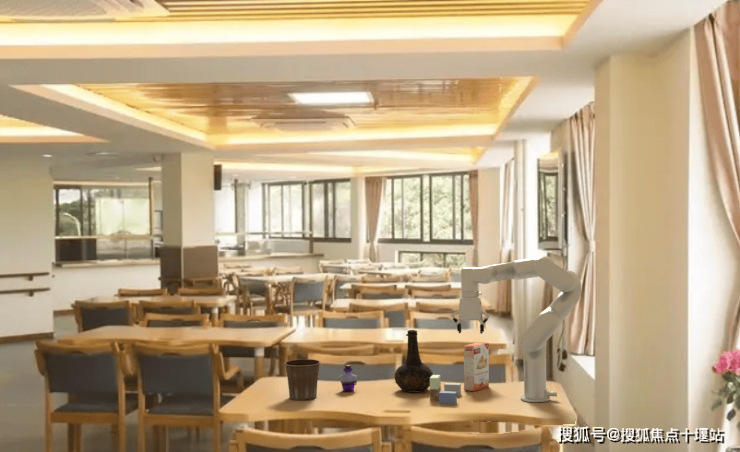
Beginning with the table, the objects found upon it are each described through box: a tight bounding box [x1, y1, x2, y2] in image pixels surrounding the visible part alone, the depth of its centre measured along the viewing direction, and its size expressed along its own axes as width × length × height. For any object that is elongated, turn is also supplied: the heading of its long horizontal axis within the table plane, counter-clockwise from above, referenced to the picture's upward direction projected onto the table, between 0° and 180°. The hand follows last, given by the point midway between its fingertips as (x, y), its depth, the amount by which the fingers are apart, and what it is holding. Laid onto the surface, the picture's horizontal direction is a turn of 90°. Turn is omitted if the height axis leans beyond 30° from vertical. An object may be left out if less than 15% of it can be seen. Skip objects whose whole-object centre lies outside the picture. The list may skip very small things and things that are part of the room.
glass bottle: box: [394, 329, 434, 393], centre depth 387 cm, size 18×18×28 cm
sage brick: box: [429, 374, 442, 390], centre depth 368 cm, size 4×7×5 cm, turn 165°
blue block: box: [438, 390, 458, 406], centre depth 359 cm, size 7×4×5 cm, turn 75°
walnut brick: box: [429, 386, 442, 402], centre depth 368 cm, size 4×7×5 cm, turn 164°
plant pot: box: [283, 358, 321, 401], centre depth 376 cm, size 16×16×16 cm
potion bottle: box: [339, 364, 358, 393], centre depth 389 cm, size 9×9×12 cm
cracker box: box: [463, 341, 490, 392], centre depth 389 cm, size 14×6×21 cm, turn 143°
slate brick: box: [443, 382, 462, 397], centre depth 376 cm, size 7×4×5 cm, turn 76°
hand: (470, 333), depth 372 cm, fingers open, 9 cm apart
